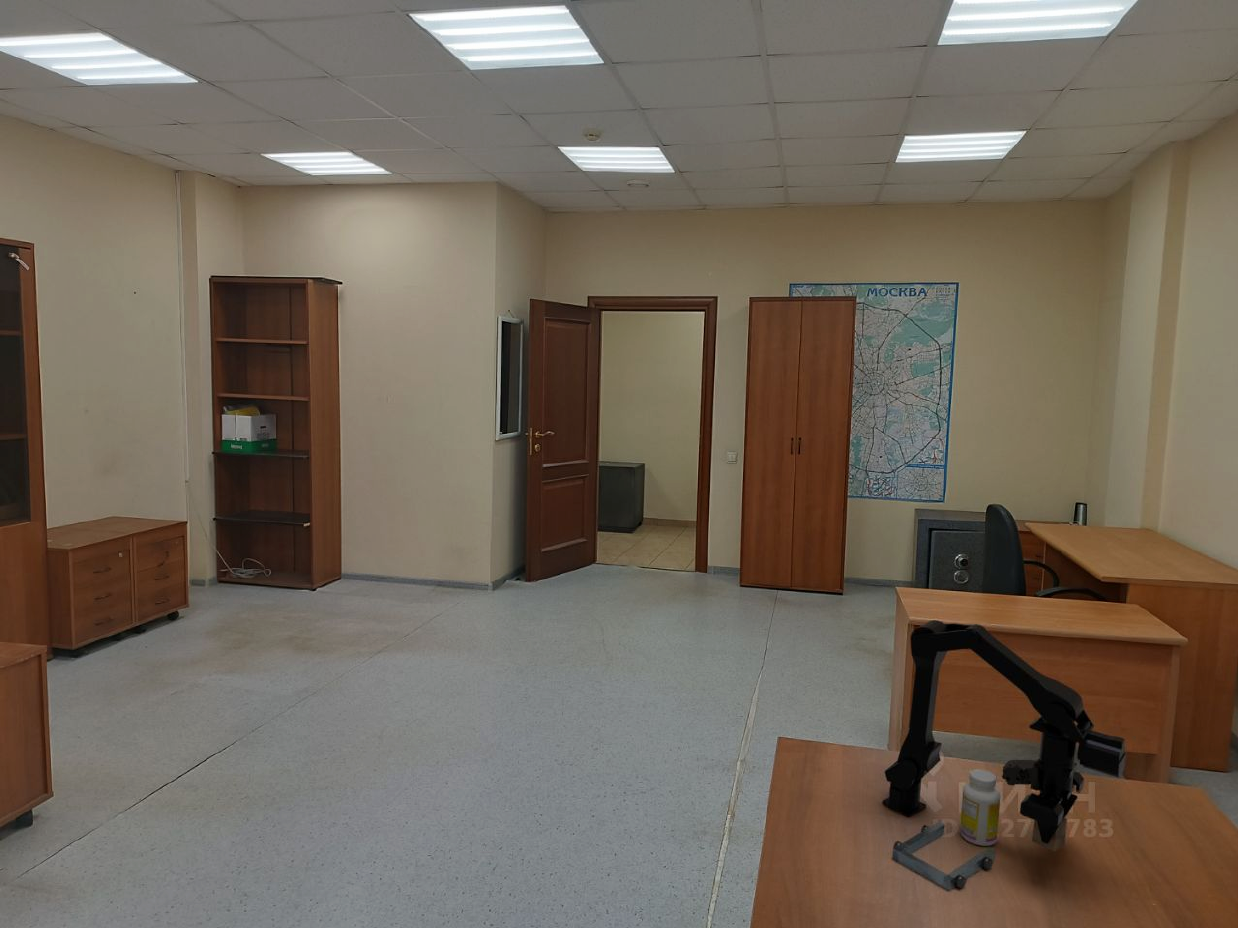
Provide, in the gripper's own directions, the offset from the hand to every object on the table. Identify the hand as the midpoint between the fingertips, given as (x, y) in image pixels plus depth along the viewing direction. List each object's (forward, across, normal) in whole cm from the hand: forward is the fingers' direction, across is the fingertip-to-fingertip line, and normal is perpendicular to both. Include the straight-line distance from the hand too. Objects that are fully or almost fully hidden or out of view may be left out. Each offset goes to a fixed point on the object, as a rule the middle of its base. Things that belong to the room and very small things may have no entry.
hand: (1048, 836), depth 153 cm
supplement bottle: (+5, +1, -12) cm, 13 cm away
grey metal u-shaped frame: (+5, +13, -14) cm, 20 cm away
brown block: (+1, 0, 0) cm, 1 cm away
